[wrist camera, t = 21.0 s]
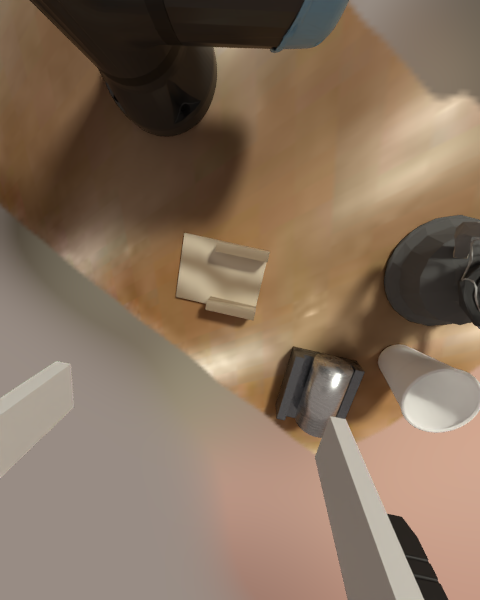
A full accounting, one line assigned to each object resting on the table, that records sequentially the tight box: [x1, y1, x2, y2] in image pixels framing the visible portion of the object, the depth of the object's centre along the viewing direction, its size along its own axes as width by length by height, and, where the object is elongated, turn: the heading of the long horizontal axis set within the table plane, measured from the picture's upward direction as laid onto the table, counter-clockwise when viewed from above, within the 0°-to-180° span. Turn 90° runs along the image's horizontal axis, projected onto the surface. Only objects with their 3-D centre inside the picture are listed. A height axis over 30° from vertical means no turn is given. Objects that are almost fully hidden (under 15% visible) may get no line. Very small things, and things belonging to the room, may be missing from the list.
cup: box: [378, 344, 480, 433], centre depth 36 cm, size 10×10×11 cm
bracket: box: [176, 233, 270, 320], centre depth 38 cm, size 11×14×4 cm
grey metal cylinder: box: [295, 353, 354, 438], centre depth 39 cm, size 6×12×6 cm, turn 168°
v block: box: [276, 347, 364, 420], centre depth 42 cm, size 13×12×4 cm
